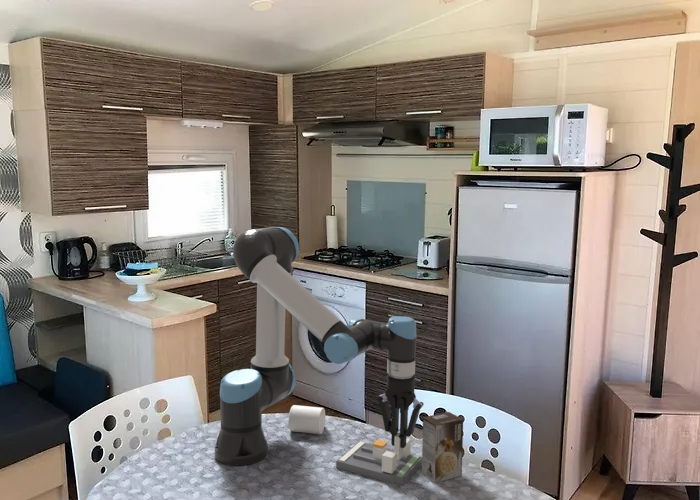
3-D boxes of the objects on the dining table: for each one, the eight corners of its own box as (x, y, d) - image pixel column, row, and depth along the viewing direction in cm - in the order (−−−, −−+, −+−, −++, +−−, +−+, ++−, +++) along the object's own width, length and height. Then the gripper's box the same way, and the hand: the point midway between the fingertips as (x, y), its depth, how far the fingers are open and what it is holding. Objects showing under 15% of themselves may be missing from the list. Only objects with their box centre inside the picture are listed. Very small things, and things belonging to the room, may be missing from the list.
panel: (336, 467, 162) (336, 458, 161) (359, 447, 174) (359, 438, 174) (403, 486, 152) (403, 476, 152) (422, 463, 165) (422, 454, 164)
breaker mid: (372, 458, 162) (372, 443, 162) (377, 454, 165) (377, 439, 164) (382, 461, 161) (382, 446, 160) (386, 456, 163) (387, 441, 163)
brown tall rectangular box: (448, 465, 164) (449, 410, 162) (462, 476, 158) (464, 419, 156) (420, 473, 159) (422, 416, 157) (434, 483, 154) (436, 425, 152)
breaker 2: (396, 455, 164) (396, 440, 164) (400, 451, 167) (400, 436, 166) (406, 458, 163) (406, 443, 162) (410, 453, 166) (410, 438, 165)
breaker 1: (381, 470, 155) (381, 455, 155) (386, 466, 158) (386, 450, 158) (391, 473, 154) (392, 457, 154) (396, 468, 157) (396, 453, 156)
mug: (319, 438, 180) (319, 413, 179) (288, 435, 182) (288, 410, 181) (328, 422, 191) (328, 399, 190) (299, 420, 193) (299, 396, 192)
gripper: (373, 374, 157) (371, 457, 160) (418, 382, 151) (415, 469, 154) (384, 366, 164) (382, 446, 166) (428, 374, 158) (425, 457, 160)
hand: (398, 457), depth 160 cm, fingers closed
